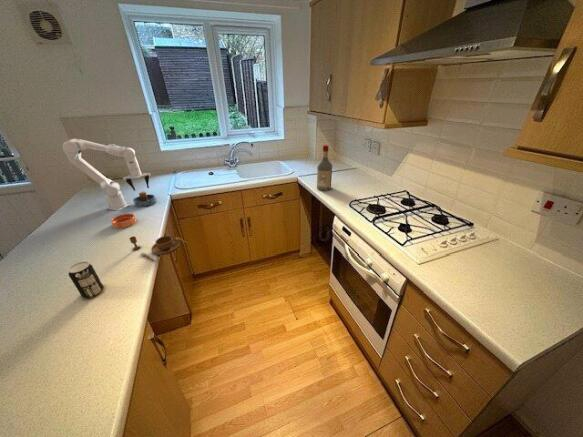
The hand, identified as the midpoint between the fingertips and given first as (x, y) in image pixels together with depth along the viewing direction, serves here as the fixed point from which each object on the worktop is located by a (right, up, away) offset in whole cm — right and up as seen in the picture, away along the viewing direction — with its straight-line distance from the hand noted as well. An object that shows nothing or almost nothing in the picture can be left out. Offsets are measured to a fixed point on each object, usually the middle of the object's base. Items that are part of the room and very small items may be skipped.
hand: (141, 189), depth 153 cm
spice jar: (+1, -9, +3) cm, 9 cm away
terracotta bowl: (+4, -22, -20) cm, 30 cm away
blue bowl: (+1, -9, +3) cm, 10 cm away
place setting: (+34, -32, -40) cm, 62 cm away
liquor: (+119, +3, +18) cm, 121 cm away
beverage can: (+23, -46, -65) cm, 83 cm away
